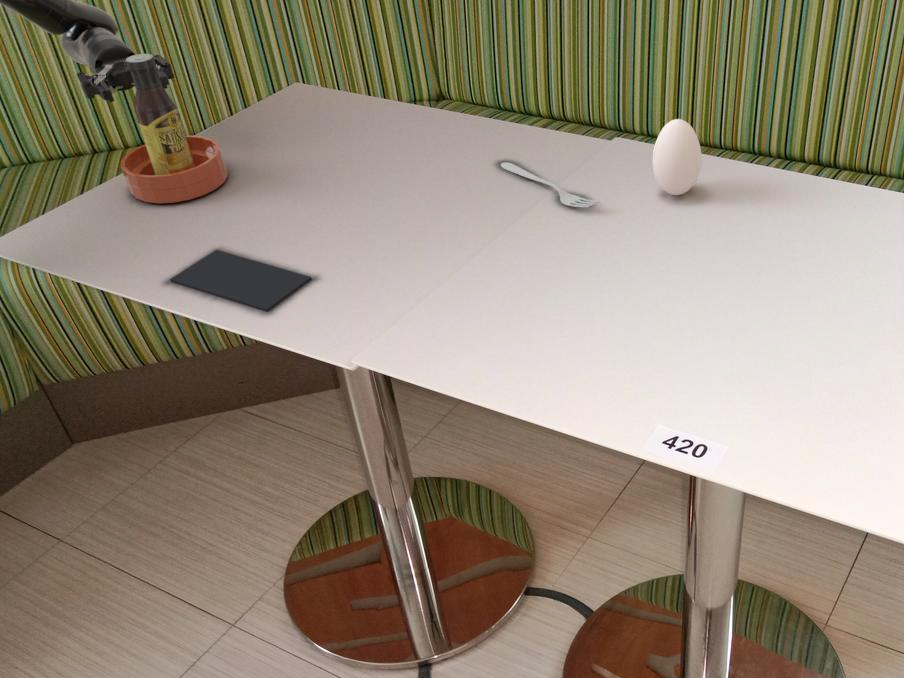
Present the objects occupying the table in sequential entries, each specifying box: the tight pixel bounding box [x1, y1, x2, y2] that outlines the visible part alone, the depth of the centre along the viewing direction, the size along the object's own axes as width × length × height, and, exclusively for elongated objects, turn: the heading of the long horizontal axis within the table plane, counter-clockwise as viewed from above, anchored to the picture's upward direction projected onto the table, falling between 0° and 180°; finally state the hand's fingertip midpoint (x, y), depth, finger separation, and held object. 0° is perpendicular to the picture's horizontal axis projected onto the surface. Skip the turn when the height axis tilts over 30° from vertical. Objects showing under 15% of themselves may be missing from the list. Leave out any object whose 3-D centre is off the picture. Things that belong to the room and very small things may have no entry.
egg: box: [652, 118, 702, 196], centre depth 147 cm, size 7×7×12 cm
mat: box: [169, 249, 313, 313], centre depth 135 cm, size 18×9×1 cm, turn 62°
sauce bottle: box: [126, 53, 195, 175], centre depth 152 cm, size 6×6×20 cm
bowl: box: [120, 134, 229, 204], centre depth 157 cm, size 15×15×5 cm
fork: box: [500, 162, 602, 208], centre depth 153 cm, size 3×24×2 cm, turn 40°
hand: (137, 89), depth 157 cm, fingers open, 8 cm apart
